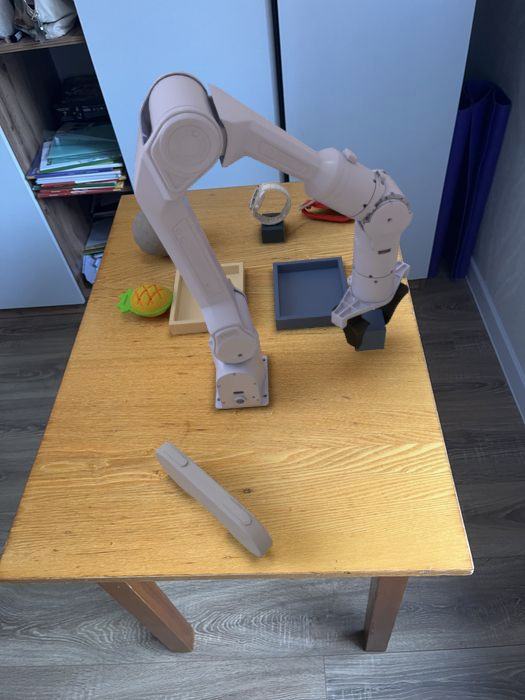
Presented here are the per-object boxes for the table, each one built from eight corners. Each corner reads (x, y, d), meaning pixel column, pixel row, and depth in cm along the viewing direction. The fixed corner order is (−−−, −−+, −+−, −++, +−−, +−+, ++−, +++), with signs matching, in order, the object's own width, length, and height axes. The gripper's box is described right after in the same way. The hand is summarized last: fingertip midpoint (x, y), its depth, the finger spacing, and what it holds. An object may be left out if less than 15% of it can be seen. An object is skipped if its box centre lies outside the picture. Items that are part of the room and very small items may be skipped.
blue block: (384, 349, 78) (386, 329, 75) (355, 351, 78) (356, 332, 75) (379, 328, 81) (381, 308, 78) (351, 330, 81) (352, 310, 78)
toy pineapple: (172, 324, 89) (164, 302, 85) (117, 325, 91) (107, 304, 87) (179, 296, 94) (172, 274, 90) (127, 298, 95) (117, 277, 91)
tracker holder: (337, 186, 110) (372, 194, 102) (336, 207, 112) (371, 216, 105) (293, 198, 104) (327, 206, 96) (294, 219, 106) (327, 229, 99)
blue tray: (351, 324, 85) (352, 313, 83) (276, 330, 86) (275, 320, 84) (341, 266, 95) (341, 256, 93) (273, 272, 96) (272, 262, 94)
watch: (254, 227, 105) (247, 179, 97) (293, 224, 104) (289, 175, 96) (252, 244, 102) (245, 196, 93) (293, 241, 101) (289, 192, 93)
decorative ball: (193, 234, 106) (183, 192, 98) (184, 266, 99) (171, 224, 92) (147, 235, 107) (133, 194, 100) (135, 267, 101) (119, 225, 93)
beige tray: (244, 328, 87) (242, 318, 85) (172, 334, 88) (168, 324, 86) (245, 271, 97) (243, 261, 95) (179, 278, 97) (176, 267, 95)
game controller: (277, 552, 62) (271, 526, 56) (265, 566, 61) (257, 542, 55) (175, 459, 72) (160, 428, 66) (163, 471, 71) (146, 440, 65)
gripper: (385, 226, 73) (378, 295, 83) (314, 278, 67) (316, 345, 78) (426, 247, 69) (414, 316, 79) (355, 303, 64) (351, 370, 74)
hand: (368, 332), depth 78 cm, fingers closed on blue block, 6 cm apart
